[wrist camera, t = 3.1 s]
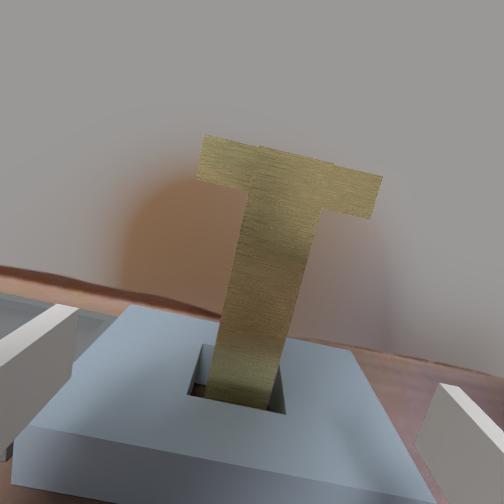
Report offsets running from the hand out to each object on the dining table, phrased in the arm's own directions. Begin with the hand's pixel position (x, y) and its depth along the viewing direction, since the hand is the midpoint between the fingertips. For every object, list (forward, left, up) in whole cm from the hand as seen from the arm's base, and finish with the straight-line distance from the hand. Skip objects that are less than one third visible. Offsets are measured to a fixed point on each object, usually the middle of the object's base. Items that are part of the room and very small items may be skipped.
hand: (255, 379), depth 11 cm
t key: (0, -9, -9) cm, 13 cm away
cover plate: (0, -9, -9) cm, 13 cm away
